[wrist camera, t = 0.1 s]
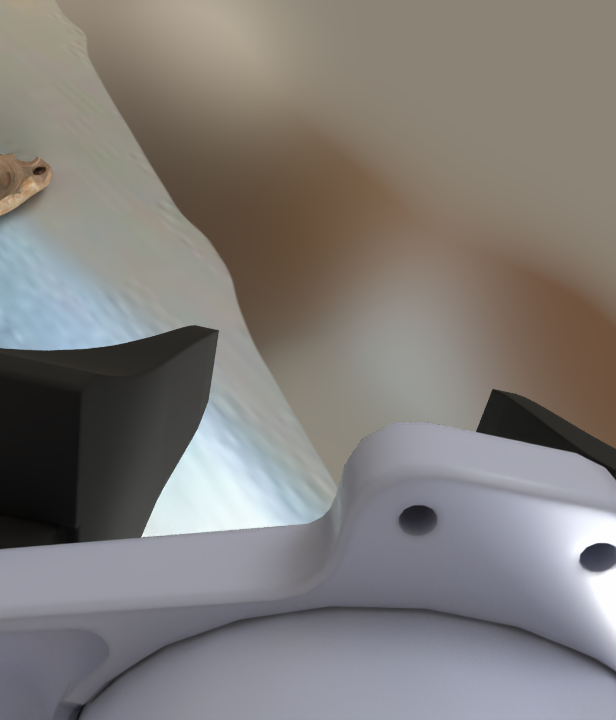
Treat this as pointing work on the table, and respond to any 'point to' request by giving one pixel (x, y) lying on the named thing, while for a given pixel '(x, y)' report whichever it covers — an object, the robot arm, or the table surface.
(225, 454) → the table surface
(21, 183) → the oil lamp
